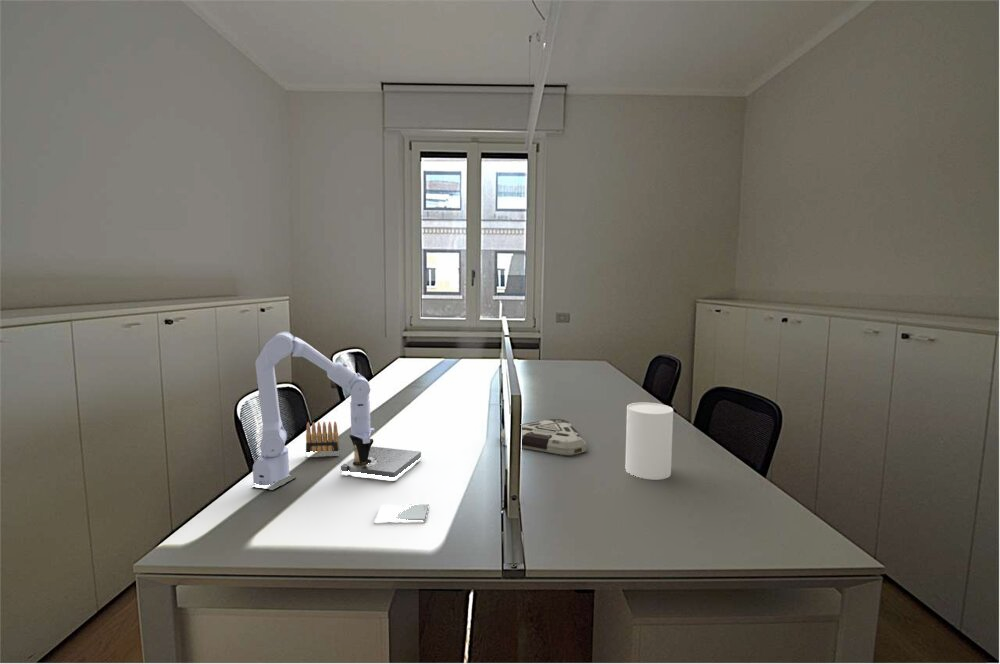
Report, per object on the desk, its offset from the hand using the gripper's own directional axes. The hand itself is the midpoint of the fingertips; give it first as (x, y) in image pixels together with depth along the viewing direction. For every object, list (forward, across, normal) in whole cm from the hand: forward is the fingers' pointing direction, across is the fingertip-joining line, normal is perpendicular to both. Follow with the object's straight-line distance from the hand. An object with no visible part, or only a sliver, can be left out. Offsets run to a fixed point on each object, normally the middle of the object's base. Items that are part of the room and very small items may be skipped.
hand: (361, 459), depth 150 cm
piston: (+2, 0, 0) cm, 2 cm away
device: (+5, -3, -68) cm, 68 cm away
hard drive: (+5, -33, -2) cm, 34 cm away
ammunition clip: (+4, +20, +8) cm, 22 cm away
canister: (+4, -42, -78) cm, 89 cm away
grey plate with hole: (+4, 0, -6) cm, 7 cm away
